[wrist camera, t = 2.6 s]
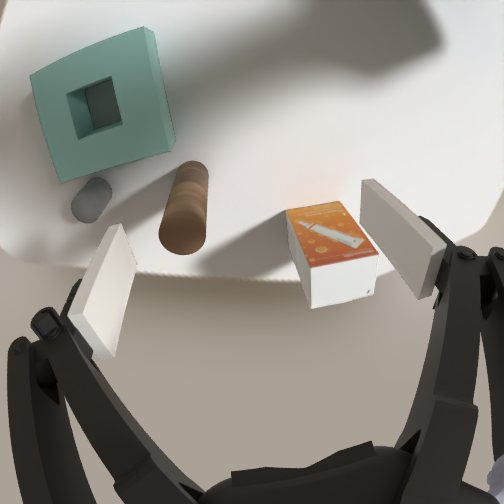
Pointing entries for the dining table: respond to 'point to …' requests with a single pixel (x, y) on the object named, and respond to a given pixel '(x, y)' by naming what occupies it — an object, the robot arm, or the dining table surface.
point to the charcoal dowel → (91, 200)
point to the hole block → (128, 98)
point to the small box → (331, 254)
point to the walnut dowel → (186, 210)
